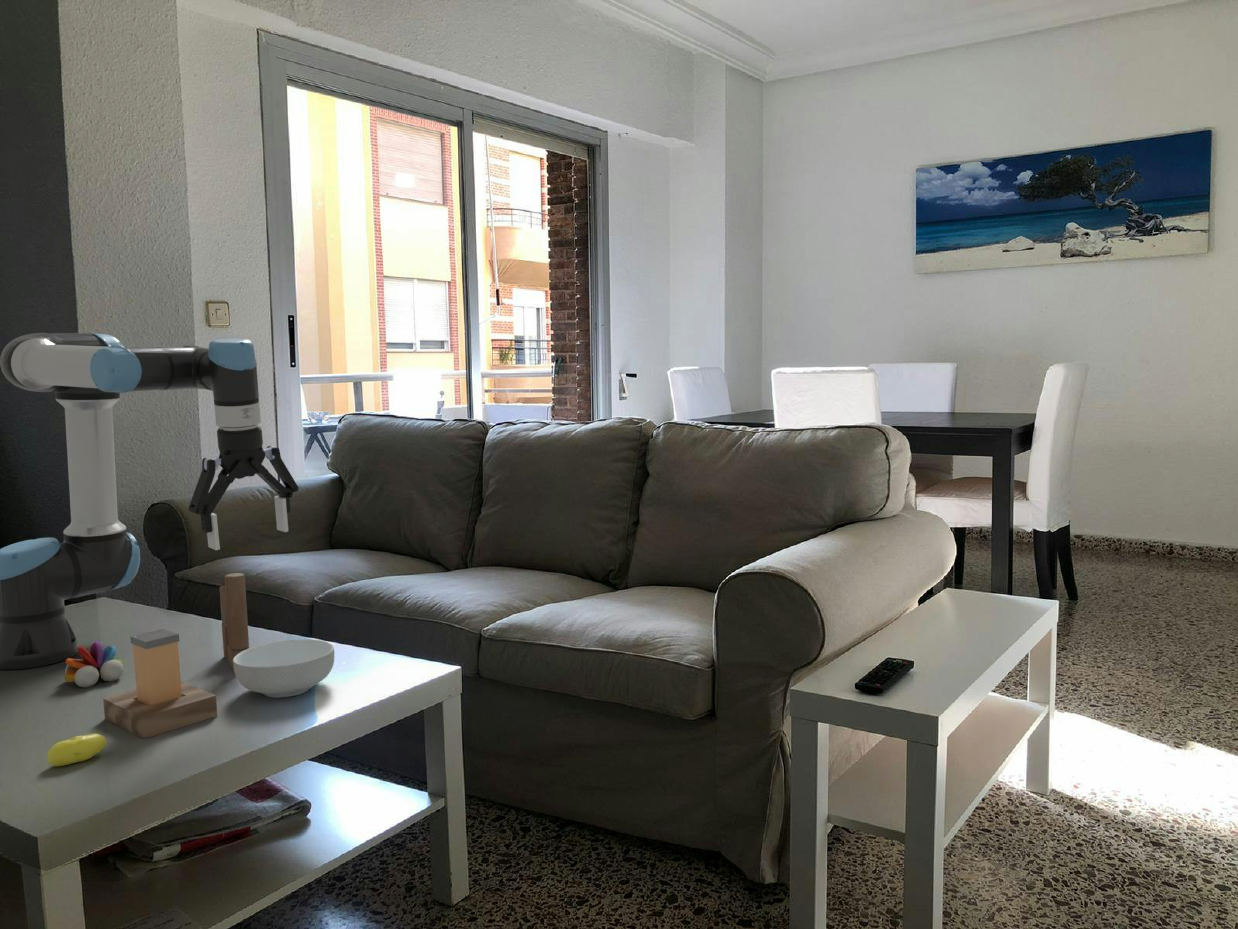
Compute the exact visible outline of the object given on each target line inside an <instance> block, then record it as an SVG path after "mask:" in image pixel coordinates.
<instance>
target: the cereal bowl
mask: <svg viewBox="0 0 1238 929" xmlns="http://www.w3.org/2000/svg"><path fill="white" fill-rule="evenodd" d="M334 662H335V647H334V645H333V644H332V643H331V642H328V641H325V640H321V639H311V638H310V639H308V638H307V639H306V638H302V639H301V638H299V639H287V640H279V641H274V642H267V643H263V644H260V645H255V646H253V647H250V648H249V649H247V650H244V651H242V652H240V653H239V654H237V655H236V656H235V657H234V659H233V667H234V670H233V672H234V675H235V677H236V679H237V681H238V683H239V684H240V685H241V686H242V687H243V688H244V689H247V690H248V691H252V692H254V693H258V694H263V695H264V696H265V697H269V698H277V699H278V698H279V699H280V698H287V697H294V696H299V695H301V694H305V692H307V691H309V689H311V688H312V687H314V686H315V685H317V684H319V683H320V682H322V681H324V680H326V678H327V677H328V675H330V673H331V672H332V669H333V667H334Z"/></svg>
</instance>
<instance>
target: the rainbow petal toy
mask: <svg viewBox="0 0 1238 929" xmlns="http://www.w3.org/2000/svg"><path fill="white" fill-rule="evenodd" d="M77 650H78V653H77V654H79V656H80V657H81V659H76V658H72V657H70V658H68V659H66V660H64V662H65V664H66V667H65V669H64V670H65V671H64V673H65V674H64V679H65V681H66V682H68V683H75V684H76V685H77V686H78V687H80V688H90V687H92V686H94V685H95V684H96V683H97V682H98V681H99V679H100V677H101V679H102V680H104V681H105V682H115V681H116V680H119V678H121V677H122V676H123V673H124V665H123V661H122V659H120V658H115V657H116V654H117V648H116V647H115V646H114V645H109V646H107V647H105V648H103V644H102V643H101V641H94V642H93V643H92V644H91V647H90V649H89V651H88V650H87V649H86V648H85V646H83V645H82V646H78V649H77Z"/></svg>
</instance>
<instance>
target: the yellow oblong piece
mask: <svg viewBox="0 0 1238 929" xmlns="http://www.w3.org/2000/svg"><path fill="white" fill-rule="evenodd" d="M106 744H107V737H105V736H104V735H102V734H100V733H89V734H85V735H80V734H79V735H76V736H75V735H74V736H73V737H71V738H69V739H65V740H61V741H58V742H56V743H55V744H53V745H52V746H51V747H50V749H49V751H48V752H47V756H46V758H47V761H48V763H49V764H50V766H53V767H62V766H69V765H71V764H75V763H80V762H83V761H87V760H89V759H91V758H93V757H94V756H95V755H97V754H98V753H99V752H101V751H102V750H103V749H104V748H105V746H106Z"/></svg>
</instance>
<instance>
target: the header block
mask: <svg viewBox="0 0 1238 929" xmlns="http://www.w3.org/2000/svg"><path fill="white" fill-rule="evenodd" d="M181 692H182V697H180V698H176V699H173V700H169V701H166V702H162V703H159V704H155V705H152V706H148V705H146V704H144V703H142V702H140V701H137V689H134V690H130V691H125V692H122V693H117V694H115V695H114V694H113V695H111V696H107V697H104V698H102V700H103V712H104V720H105V721H108V722H110V723H111V724H114V725H116V726H118V727H119V728H122V729H124V730H125V731H128V732H129V733H132V734H133V735H135V736H138V737H139V738H140V739H143V740H144V739H148V738H151V737H154V736H158V735H161V734H164V733H167V732H172V731H174V730H177V729H180V728H183V727H186V726H189V725H193V724H195V723H199V722H202V721H205V720H209V719H212V718H214V717H218V710H217V709H218V708H217V707H218V706H217V695H216V694H214V693H211V692H208V691H206V690H204V689H201V688H198V687H196V686H195V685H191V684H190V683H186V682H184V681H182V680H181Z"/></svg>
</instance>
